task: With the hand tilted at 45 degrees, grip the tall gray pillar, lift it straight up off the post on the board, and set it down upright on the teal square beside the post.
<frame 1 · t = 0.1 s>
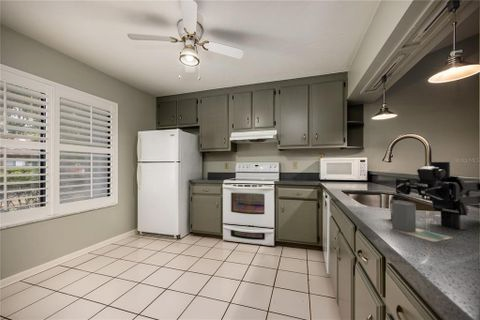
hand: (409, 189, 73), 17 cm above the countertop, tool horizontal, fingers open, 9 cm apart
tall gray pillar: (403, 229, 76), point 1 cm above the countertop, touching stand board
food container: (405, 226, 86), on the countertop, touching stand board
stand board: (417, 234, 73), on the countertop
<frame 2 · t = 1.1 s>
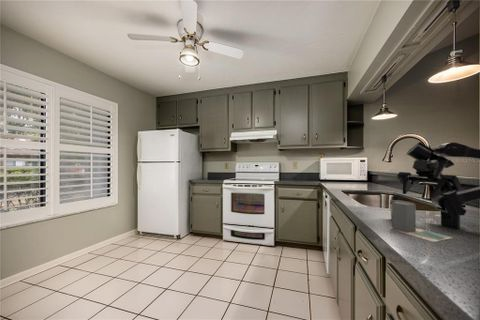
hand: (416, 195, 79), 14 cm above the countertop, tool tilted 45°, fingers open, 9 cm apart
nothing on the countertop moved.
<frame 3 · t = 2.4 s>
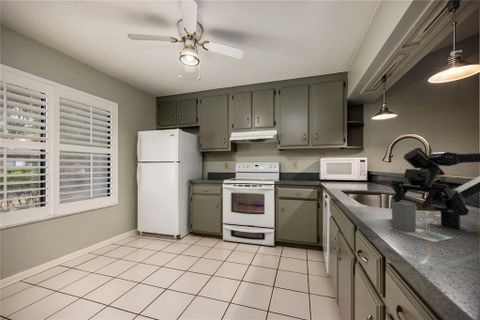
hand: (408, 205, 78), 10 cm above the countertop, tool tilted 45°, fingers open, 9 cm apart
nothing on the countertop moved.
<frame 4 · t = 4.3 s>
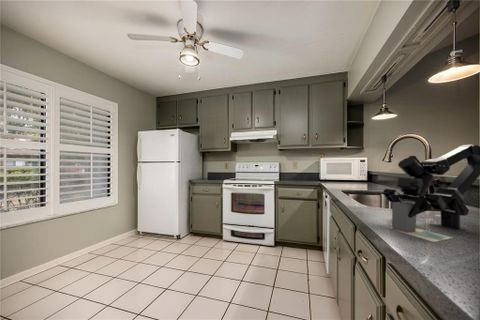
hand: (401, 215, 76), 7 cm above the countertop, tool tilted 45°, fingers closed on tall gray pillar, 5 cm apart
tall gray pillar: (403, 229, 76), point 1 cm above the countertop, touching gripper, stand board
food container: (409, 227, 85), on the countertop, touching stand board
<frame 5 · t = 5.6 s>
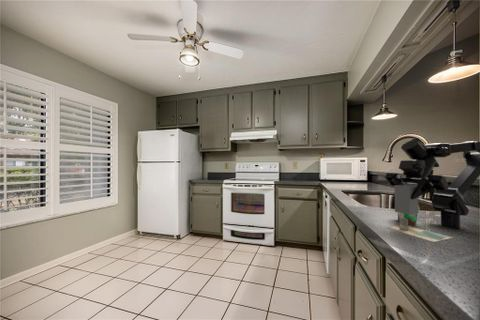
hand: (403, 197, 75), 13 cm above the countertop, tool tilted 45°, fingers closed on tall gray pillar, 5 cm apart
tall gray pillar: (406, 212, 76), point 8 cm above the countertop, touching gripper
everything else where it was.
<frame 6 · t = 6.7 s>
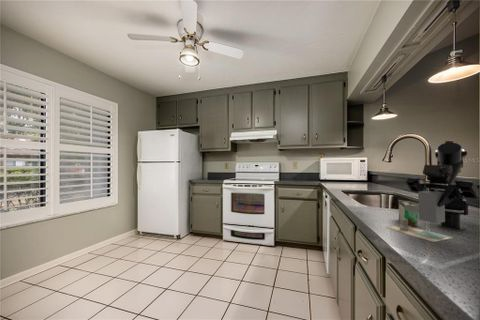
hand: (428, 204, 70), 12 cm above the countertop, tool tilted 45°, fingers closed on tall gray pillar, 5 cm apart
tall gray pillar: (431, 220, 71), point 6 cm above the countertop, touching gripper
everything else where it was.
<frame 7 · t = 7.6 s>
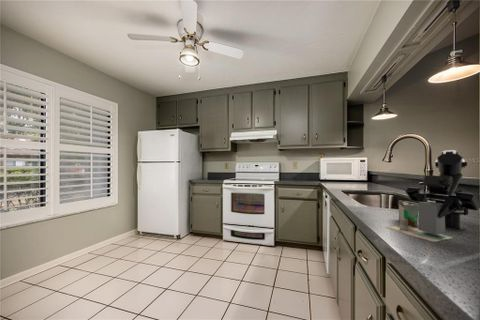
hand: (428, 215, 70), 8 cm above the countertop, tool tilted 45°, fingers closed on tall gray pillar, 5 cm apart
tall gray pillar: (431, 231, 71), point 2 cm above the countertop, touching gripper
everything else where it was.
when the fingers open (8 cm above the countertop, at t = 7.9 s): tall gray pillar drops 1 cm, resting on stand board.
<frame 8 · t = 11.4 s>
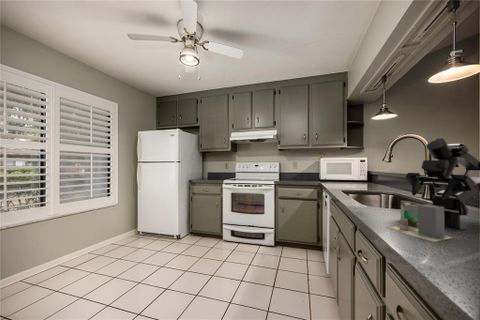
hand: (426, 196, 77), 14 cm above the countertop, tool tilted 45°, fingers open, 9 cm apart
tall gray pillar: (431, 234, 71), point 1 cm above the countertop, touching stand board
at the end: tall gray pillar 0.1 cm from the target spot on the stand board, point 1.1 cm above the stand board's base; tall gray pillar tilted 0°; the gripper is holding nothing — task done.
